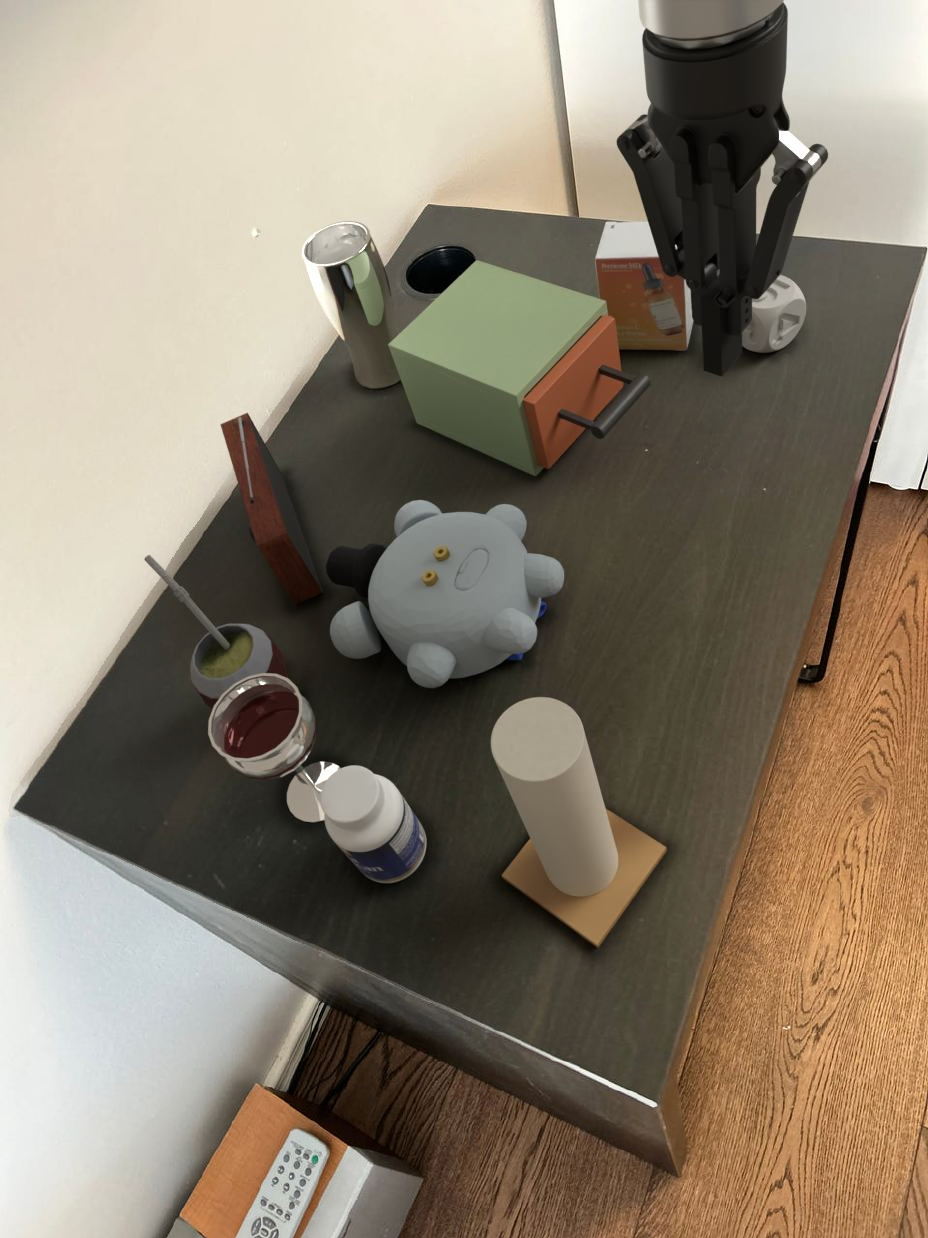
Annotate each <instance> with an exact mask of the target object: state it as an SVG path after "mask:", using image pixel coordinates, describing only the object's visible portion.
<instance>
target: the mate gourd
mask: <svg viewBox="0 0 928 1238" xmlns="http://www.w3.org/2000/svg"><path fill="white" fill-rule="evenodd" d="M143 559H144V561H145V562H146V564H148V566H149V567H150V568H152V570H153V571H154V572H155V573H156V574H157V575H158V576H159V578H161V579H162V580H163V581H164V582H165V583H166V585H167V586H168V587H169V588H170V589H171V590H172V591H173V595H174V596H175V597H176V598H177V599H178V600H179V602H180V603H183V604H184V605H185V606H186V607H187V608H188V609H189V611H191V612H192V614H193V615H194V616H195V617H196V619H198V621H199V622H200V623H201V624H202V625H203V627H204V628H205V629H206V630H207V631H208V632H207V633H206V634H205V635H203V637H202V638H201V640H200V641H199V642H198V643H197V644H196V645H195V647H194V651H193V653H192V656H191V658H190V665H189V668H190V680H191V682H192V684H193V686H194V688H195V690H196V692H197V694H198V695H199V697H201V699H202V701H203V702H204V704H205V705H206V706H207V707H209V708H210V709H211V710H213V707H214V705H215V704H216V702H217V701H218V700H219V698H220V697H221V695H222V694H223V693H224V692H225V691H226V690H228V689H229V688H230V687H231V686H232V685H233V684H235V683H236V682H238V681H240V680H242V679H244V678H246V677H248V676H252V675H256V674H261V673H272V674H278V675H281V676H283V677H286V678H288V679H289V675H288V670H287V664H286V660H285V655H284V654H283V652H282V650H281V649H280V647H279V646H278V644H277V643H276V642H275V640H274V639H273V638H272V637H271V636H270V635H269V634H267V633H266V632H264V630H263V629H261V628H258V627H256V626H254V625H251V624H249V623H226V624H223V625H220V626H215V625H214V624H213V623H212V622H211V621H210V619H209V618H208V617H207V616H206V615H205V614H204V613H203V611H202V610H201V609H200V608H199V607H198V606H197V604H196V603H195V602H194V600H193V599H192V598H191V597H190V593H189V592H188V591H187V590H186V589H185V588H184V587H183V586H182V585H181V586H180V585H179V583H177V581H176V580H175V579H174V578H173V577H172V576H171V575H170V574H169V573H168V572H167V570H165V569H164V568H163V567H162V566H161V564H160V563H158V561H156V559H154V557H153V556H151V554H147V555H146V556H145V557H144V558H143Z"/></svg>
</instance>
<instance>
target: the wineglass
mask: <svg viewBox="0 0 928 1238" xmlns="http://www.w3.org/2000/svg"><path fill="white" fill-rule="evenodd" d="M207 726H208V727H207V728H208V729H207V734H208V737H209V740H210V743H211V746H212V747H213V748H214V749H215V750H216V751H217V753H218V754H219V755H221V756H222V757H223V760H224V761H225V762H226V763H227V764H228V765H229V767H230V768H231V769H232V770H234V771H235V773H237V774H239V775H241V776H243V777H246V778H247V779H252V780H253V779H254V780H264V781H270V780H274V779H279V778H283V777H285V776H286V775H288V774H290V773H292V772H295V773H296V774H294V777H293V778H292V780H291V781H290V782H289V785H288V788H287V792H286V803H287V807H288V809H289V811H290V813H291V814H292V815H293V816H294V817H295V818H296V819H298V820H300V821H303V822H309V823H317V822H322V821H325V820H324V812H323V810H322V807H321V803H320V795H321V790H322V787H323V785H324V783H325V782H326V780H327V779H328V778H329V777H330V776H331V775H332V774H333V773H334V772H336V771H337V770H339V769H341V768H342V767H340V766H339V765H337V764H336V763H333V762H329V761H318V762H314V763H311V764H309V765H307V766H305V767H303V765H302V764H303V763H304V762H306V760H307V758H308V756H309V755H310V753H312V750H313V748H314V744H315V741H316V738H317V718H316V715H315V713H314V710H313V707H312V705H311V704H310V701H309V700H308V699H307V698H306V697H305V696H304V695H303V694H302V693H301V692H300V690H299V688H298V686H296V684H294V682H292V680H291V679H289V677H288V678H286V677H283V676H281V675H278V674H272V673H261V674H256V675H252V676H248V677H246V678H244V679H242V680H240V681H238V682H236V683H235V684H233V685H232V686H231V687H230V688H229V689H228V690H226V691H225V692H224V693H223V694H222V695H221V697H220V698H219V700H218V701H217V702H216V704H215V705H214V707H213V709H211V713H210V716H209V718H208V725H207Z"/></svg>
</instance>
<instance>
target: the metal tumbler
mask: <svg viewBox="0 0 928 1238" xmlns="http://www.w3.org/2000/svg"><path fill="white" fill-rule="evenodd" d="M301 257H302V259H303V261H304V264H305V267H306V271H307V273H308V277H309V280H310V282H311V286H312V288H313V291H314V293H315V296H316V298H317V300H318V303H319V305H320V307H321V308H322V310H323V312H324V314H325V316H326V317H327V319H328V320H329V322H330V323H331V325H332V326H333V328H334V329H335V331H336V332H337V333H338V335H339V337H340V338H341V339H342V342H343V343H344V344H345V347H346V348H347V350H348V351H349V355H350V358H351V361H352V367H353V372H354V376H355V379H356V381H357V383H359V384H360V386H362V387H365V388H367V389H372V390H373V389H374V390H377V389H378V390H379V389H385V388H389V387H391V386H393V385H395V384H397V383H399V382H401V378H400V376H399V373H398V370H397V368H396V365H395V362H394V359H393V357H392V354H391V351H390V349H389V346H388V344H389V343H390V342H391V341H392V340H393V339H395V338H396V337H397V336H398V335H399V334H400V333H399V331H398V327H397V322H396V317H395V316H396V315H395V309H394V301H393V295H392V290H391V286H390V281H389V278H388V274H387V271H386V267H385V265H384V263H383V259H382V257H381V255H380V252H379V250H378V248H377V245H376V244H375V241H374V239H373V237H372V235H371V231H370V229H369V228H368V227H367V225H365V224H364V223H361V222H358V221H353V220H345V221H344V220H343V221H338V222H334V223H331V224H329V225H326V226H324V227H322V228H320V229H318V230H317V231H315V232H314V233H312V235H310V236H309V238H307V239H306V241H305V242H304V244H303V246H302V249H301Z"/></svg>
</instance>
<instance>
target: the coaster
mask: <svg viewBox="0 0 928 1238" xmlns="http://www.w3.org/2000/svg"><path fill="white" fill-rule="evenodd" d="M605 809H606V812H607V816H608V820H609V823H610V827H611V831H612V834H613V838H614V842H615V845H616V849H617V853H618V868H617V871H616V874H615V876H614V878H613V880H612V881H611V882H610V884H609V885H608V886H607V887H606V888H604V889H603V890H602V891H600V892H598V893H596V894H593V895H590V896H584V897H577V896H571V895H568V894H566V893H563V892H562V891H560V890H559V889H557V888H556V887H555V886H554V885H553V884H552V883H551V881H550V880H549V878H548V876H547V874H546V872H545V869H544V867H543V865H542V863H541V861H540V858H539V856H538V854H537V852H536V850H535V847H534V845H533V843H532V841H531V839H530V838H529V839H528V841H526V843H525V844H524V846H523V847H522V848H521V850H519V851H518V853H517V855H516V856H515V857H514V858H513V860H512V861H511V863H510V864H509V865H508V867H506V869H505V870H504V872H503V873H502V874H501V877H502V879H503V880H505V881H506V882H507V883H509V884H510V885H511V886H513V887H514V888H515V889H517V890H518V891H520V892H521V893H522V894H524V895H525V896H526V897H528V898H529V899H530V900H531V901H533V902H534V903H536V904H537V905H538V906H540V907H541V908H543V909H544V910H545V911H546V912H548V913H550V914H551V915H552V916H553V917H555V918H556V919H558V920H559V921H560V922H561V923H563V924H564V925H566V926H567V927H568V928H569V929H571V930H573V931H574V932H575V933H577V934H578V935H579V936H580V937H582V938H583V939H585V940H586V941H588V942H589V943H590V944H592V945H593V946H595V947H596V948H600V946H601V944H602V943H603V942H604V940H605V939H606V938H607V936H608V935H609V933H610V932H611V930H612V929H613V928H614V926H615V925H616V923H617V922H618V920H619V919H620V918H621V916H622V915H623V914H624V912H625V911H626V909H627V908H628V906H629V905H630V903H631V902H632V901H633V899H634V898H635V897H636V896H637V894H638V892H639V891H640V889H641V888H642V887H643V886H644V884H645V882H646V881H647V880H648V878H649V877H650V875H651V874H652V873H653V871H654V870H655V868H656V867H657V866H658V864H659V863H660V861H661V860H662V859H663V857H664V855H666V853H667V851H668V849H667V846H665V845H664V844H662V843H660V842H659V841H658V840H656V839H654V838H653V837H651V836H650V835H648V834H646V833H645V832H643V831H642V830H640V829H638V828H637V827H635V826H634V825H632V824H631V823H630V822H628V821H626V820H625V819H623V818H621V817H620V816H618V815H617V814H615V813H614V812H612V811H610V810H608V809H607V808H606V807H605Z"/></svg>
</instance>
